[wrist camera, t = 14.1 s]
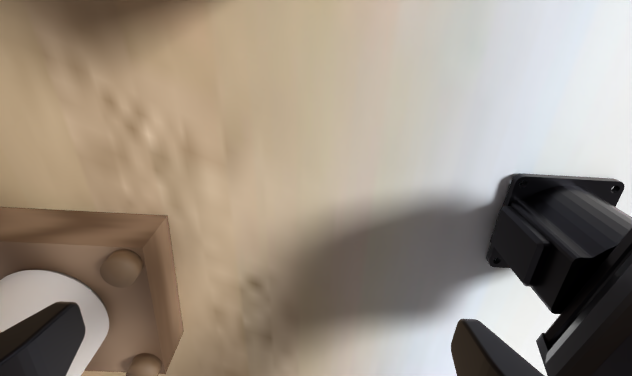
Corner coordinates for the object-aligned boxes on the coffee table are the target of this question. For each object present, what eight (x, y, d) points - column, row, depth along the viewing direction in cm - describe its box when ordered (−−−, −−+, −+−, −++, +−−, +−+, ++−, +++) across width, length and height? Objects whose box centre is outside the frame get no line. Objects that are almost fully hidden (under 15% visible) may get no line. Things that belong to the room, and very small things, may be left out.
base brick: (167, 215, 22) (133, 259, 18) (183, 331, 26) (159, 388, 22) (-28, 205, 22) (-108, 247, 18) (20, 324, 26) (-35, 380, 22)
